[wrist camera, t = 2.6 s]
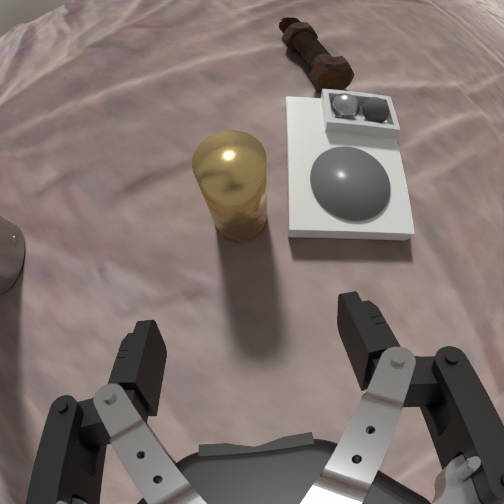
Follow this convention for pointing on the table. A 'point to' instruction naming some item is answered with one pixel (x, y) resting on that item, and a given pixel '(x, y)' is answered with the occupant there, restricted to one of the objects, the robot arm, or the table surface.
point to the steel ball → (345, 106)
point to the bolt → (316, 56)
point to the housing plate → (344, 172)
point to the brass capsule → (233, 182)
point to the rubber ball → (375, 110)
